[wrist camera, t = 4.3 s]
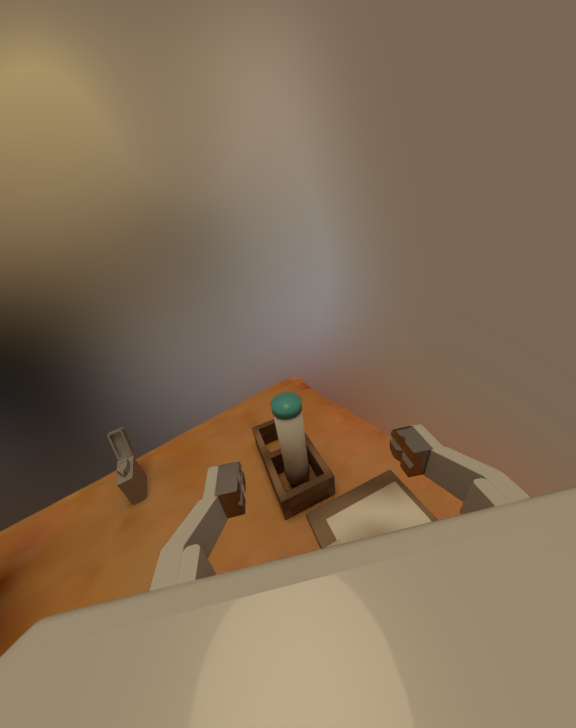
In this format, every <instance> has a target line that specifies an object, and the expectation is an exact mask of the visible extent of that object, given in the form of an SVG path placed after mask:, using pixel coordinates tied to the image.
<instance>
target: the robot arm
mask: <svg viewBox="0 0 576 728" xmlns="http://www.w3.org/2000/svg"><path fill="white" fill-rule="evenodd" d="M391 436H392V437H393V438H392V439H391V440H390V450H391V452H392V455H393V456H394V458H395V459H397V460H398V461H400V462H401V464H400V466H401V468H402V469H403V471H404V472H405V474H406V475H407V476H408V477H413V476H418V475H423V474H424V476H426V477H427V478H429V479H430V480H432V481H433V482H435V483H436V484H438V485H439V486H441V487H442V488H444V489H445V490H446V491H448V492H449V493H451V494H452V495H454V496H455V497H457V498H458V499H460V500H461V501H463V505H462V507H461V509H460V514H461V515H458V516H453V517H449V518H445V519H441V520H437V521H433V522H429V523H425V524H421V525H417V526H413V527H409V528H405V529H400V530H396V531H392V532H388V533H384V534H380V535H376V536H372V537H368V538H364V539H360V540H356V541H352V542H347V543H343V544H339V545H335V546H331V547H327V548H323V549H319V550H315V551H311V552H307V553H303V554H299V555H295V556H291V557H287V558H282V559H278V560H274V561H270V562H266V563H262V564H258V565H254V566H250V567H246V568H242V569H238V570H234V571H230V572H225V573H221V574H217V575H216V572H215V571H214V569H213V567H212V566H211V564H210V562H209V561H208V557H209V555H210V553H211V551H212V549H213V547H214V545H215V544H216V542H217V540H218V538H219V536H220V534H221V532H222V530H223V528H224V526H225V524H226V522H227V520H228V518H232V517H236V516H240V515H244V514H245V497H244V493H245V491H246V489H245V477H244V473H243V471H241V464H240V462H234V463H228V464H223V465H218V466H212V467H209V469H208V471H207V476H206V482H205V488H204V493H203V499H201V500H199V501H198V502H197V504H196V505H195V506H194V508H193V509H192V510H191V512H190V513H189V514H188V516H187V517H186V518H185V520H184V521H183V522H182V524H181V525H180V526H179V528H178V529H177V530H176V532H175V533H174V534H173V536H172V537H171V538H170V540H169V541H168V542H167V544H166V545H165V546H164V548H163V549H162V550H161V552H160V556H159V559H158V562H157V566H156V569H155V573H154V576H153V580H152V583H151V587H150V590H149V591H148V592H144V593H140V594H136V595H132V596H127V597H123V598H119V599H115V600H111V601H107V602H103V603H99V604H95V605H91V606H87V607H83V608H79V609H74V610H70V611H66V612H62V613H58V614H54V615H51V616H48V617H45V618H43V619H41V620H39V621H38V622H36V623H35V624H33V625H32V626H31V627H30V628H29V629H28V630H27V631H26V632H25V633H24V634H23V635H22V636H21V637H20V638H19V639H18V640H17V641H16V642H15V643H14V644H13V645H12V646H11V647H10V648H9V649H8V650H7V651H6V652H5V653H4V654H3V655H2V656H1V657H0V728H576V487H572V488H568V489H564V490H559V491H556V492H551V493H547V494H543V495H539V496H535V497H531V498H530V497H529V496H528V495H527V494H526V493H525V492H524V491H522V489H520V488H519V487H518V486H517V485H516V484H515V483H514V482H513V481H512V480H510V479H509V478H508V477H507V476H506V475H505V474H504V473H503V472H500V471H498V470H496V469H494V468H492V467H490V466H487V465H485V464H483V463H481V462H479V461H477V460H474V459H472V458H470V457H468V456H466V455H464V454H461V453H459V452H457V451H455V450H453V449H450V448H448V447H443V446H442V445H441V444H440V443H439V442H438V441H437V440H436V439H435V438H434V437H433V436H432V435H431V434H430V433H429V432H428V431H427V430H426V429H425V428H424V427H423V426H422V425H420V424H418V425H413V426H408V427H403V428H398V429H394V430H392V432H391Z"/></svg>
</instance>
